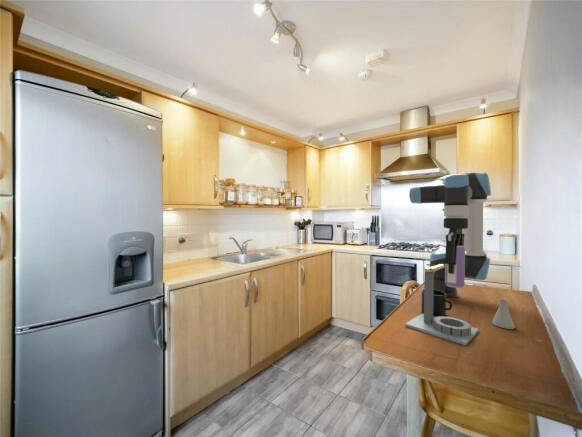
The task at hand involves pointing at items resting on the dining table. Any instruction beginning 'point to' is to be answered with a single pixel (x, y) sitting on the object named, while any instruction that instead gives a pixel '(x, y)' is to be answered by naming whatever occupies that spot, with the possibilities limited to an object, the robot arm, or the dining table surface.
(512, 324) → the flask
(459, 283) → the beverage can
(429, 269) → the lever
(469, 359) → the dining table surface
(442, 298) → the mug
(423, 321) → the seat board
